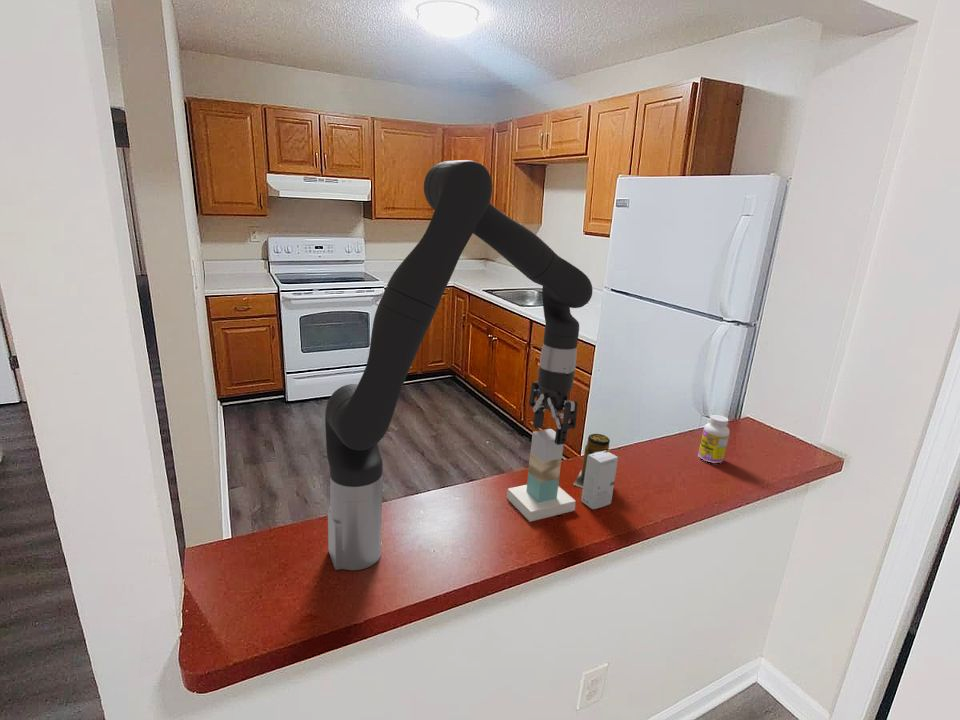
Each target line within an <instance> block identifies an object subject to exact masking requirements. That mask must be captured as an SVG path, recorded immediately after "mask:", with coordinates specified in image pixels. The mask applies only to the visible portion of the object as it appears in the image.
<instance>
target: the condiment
mask: <svg viewBox="0 0 960 720" xmlns="http://www.w3.org/2000/svg"><path fill="white" fill-rule="evenodd" d="M610 442H611V441H610V438H609V437H608V436H606V435H604V434H601V433H591V434H589V435H588V438H587V442H586V445H585V447H584V453H583V458H582V460H583V461H582V464H581V465H582V466H581V470H580V471H579V473H578V475H577V477H576V479H575V481H574V482H573V486H576V487H578V488H582V489H583V484H584V477H585V470H586V463H587V456H588V455H589V454H593V453H595V452H601V451H605V450H606V451H608V452H610V448H609V447H610ZM610 453H611V452H610Z"/></svg>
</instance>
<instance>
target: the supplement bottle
mask: <svg viewBox="0 0 960 720" xmlns="http://www.w3.org/2000/svg"><path fill="white" fill-rule="evenodd" d="M728 425H729V418H728V417H726V416H724V415H721V414H711V415H710V417H709V422H708V423H706V424H705V425H703V431H702V436H701V439H700V444H699V448H698V449H699V450H698V454H697V456H698V458H699V457H700V458H701V459H703V460H705V461H708V462H712V463H717V462H722V461H724V458H725V454H726V449H727V445H728V442H729V437H730V432H731V431H730V429H729V427H728ZM700 458H699V459H700ZM701 459H700V460H701ZM703 460H702V461H703ZM705 461H704V462H705ZM722 463H723V462H722Z"/></svg>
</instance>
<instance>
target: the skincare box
mask: <svg viewBox="0 0 960 720" xmlns="http://www.w3.org/2000/svg"><path fill="white" fill-rule="evenodd" d="M618 460H619V457H618V456H617V455H615V454H613V453H611V452H608V451H606V450H605V451H601V452H595V453H593V454H589V455H588V456H587V463H586V470H585V477H584V484H583V488H582V491H581V492H582V493H581V499H580V501H581V502H582V503H583V504H584V505H586V507H588V508H590V509H592V510H597V509H600V508H604V507H606V506H609V505H611V504H612V500H613V493H614V487H615V480H616V474H617V468H618Z"/></svg>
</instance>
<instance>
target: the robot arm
mask: <svg viewBox="0 0 960 720" xmlns="http://www.w3.org/2000/svg"><path fill="white" fill-rule="evenodd" d="M423 193H424V197H425V200H426V201H427V204H428V205H429V207H431V209H432V210H434V212H433V214H432V216H431V218H430V221H429V224H428V226H427V228H426V230H425V232H424V234H423V235H422V237H421V239H420V240H419V242H418V243H417V244H416V245H415V247H413V249H412V250H411V251H410V252H409V254H408V255H407V256H406V257H405V258H404V259H403V260H402V261H401V263H400V264H399V265H398V267H397V268H396V269H395V271H394V272H393V273H392V275H391V277H390V279H389V280H388V282H387V285H386V287H385V289H384V291H383V292H382V293H383V294H382V296H381V298H380V301H379V303H378V305H377V308H376V311H375V314H374V318H373V324H372V328H371V329H372V330H371V335H370V336H371V337H370V345H369V351H368V358H367V362H366V364H365V368H364V370H363V373H362V376H361V377H360V380H359V382H358V383H355V384H354V383H350V384H345V385H342V386H341V387H339V388H337V389H336V390H335V391H334V392H333V393H332V394H331V395H330V397H329V399H328V400H327V403H326V406H325V414H324V416H325V417H324V418H325V419H324V420H325V421H324V422H325V424H324V425H325V444H326V445H325V447H326V449H325V450H326V456H327V461H328V465H329V480H330V481H329V486H330V487H329V488H330V490H329V491H330V492H329V494H330V497H329V498H330V501H329V502H330V504H329V505H330V506H329V507H327V535H328V536H327V537H328V538H327V539H328V540H327V541H328V543H327V544H328V545H327V546H328V547H327V549H328V553H329V556H330V559H331V562H332V565H333V568H334V570H335V571H338V570H339V571H340V570H346V571H359V570H360V571H361V570H364V569H367V568H370V567H371V566H373V565H375V564H376V563H377V562H378V561H379V560H380V558H381V557H382V556H381V555H382V525H383V524H382V523H383V522H382V519H383V515H382V513H383V474H384V473H383V466H384V464H383V457H382V455H381V452H380V448H379V442H380V441H381V440H382V439H383V438H384V436H386V434H387V432H388V429H389V427H390V424H391V421H392V419H393V416H394V413H395V411H396V407H397V404H398V401H399V398H400V394H401V391H402V390H403V389H402V388H403V386H404V383H405V381H406V378H407V375H408V373H409V371H410V368H411V367H412V365H413V363H414V360H415V358H416V356H417V353H418V351H419V349H420V346H421V344H422V342H423V339H424V338H425V336H426V333H427V331H428V329H429V327H430V325H431V324H432V321H433V318H435V317H434V316H435V314H436V312H437V309H438V308H439V305H440V303H441V300H442V298H443V295H444V292H445V291H446V289H447V287H448V285H449V282H450V279H451V278H452V275H453V273H454V272H455V269H456V267H457V264H458V262H459V259H460V257H461V255H462V253H464V252H463V251H464V250H465V248H466V246H467V244H468V243H469V240H470V239H471V237H472V236H473V235H475V236H476V237H478V239H481V241H483V242H485V243H486V244H487V245H488V246H490V247H491V248H492V249H493V250H494V251H495V252H497V253H498V254H499V255H500V256H501V257H502V258H504V259H505V260H506V261H508V263H510V264H511V265H512V266H513V267H515V268H516V269H517V270H518V271H519V272H520V273H522V274H523V275H524V277H526V278H527V279H529V280H530V281H531V282H533V283H536V284H537V285H540V286H542V290H541V296H542V298H541V299H542V307H543V315H544V322H545V327H544V333H543V335H544V336H543V341H542V343H543V344H542V346H541V347H542V348H541V350H540V351H541V352H540V357H539V366H538V374H537V381H532V382H531V386H530V387H531V388H530V394H529V401H528V405H529V407H532V411H533V421H532V423H533V424H532V427H533V428H534V429H535V430H536V429H542V428H543V426H544V421H545V420H544V419H545V412H544V411H546V410H547V411H548V412H549V413H551V416H552V419H554V420H555V423H556V430H555V432H556V436H555V443H556V444H557V445H561V444H564V445H565V443H566V441H567V435H568V430H574V429H576V426H577V425H576V422H577V415H578V406H579V405H578V402H577V400H574V401H573V400H570V399H569V392H570V391H571V390H572V389H573V387H574V379H575V372H576V365H577V359H578V358H577V355H578V354H577V352H578V351H577V349H578V348H577V347H578V341H579V334H580V323H579V321H578V319H576V318H575V317H574V316H573V315H572V313H571V309H578V308H583V307H584V306H586V305H587V304H588V303H589V302H590V301H591V298H592V296H593V285H592V281H591V280H590V279H589V276H588V275H586V274H585V272H584V271H582V270H580V269H579V268H578V267H576V266H575V265H574V264H572V263H571V262H568V261H567V260H566V259H564V258H562V257H561V256H559V255H558V254H557V253H556V252H555V251H554V250H553V249H552V248H551V247H550V246H549V245H548V244H547V243H546V242H544V241H543V240H542V239H541V238H540V237H539V236H538V235H537V234H535V233H534V232H533V231H532V230H530V229H528V228H527V227H526V226H524V225H522V224H521V223H519V222H518V221H516V220H514V219H513V218H511V217H509V216H507V215H506V214H504V213H503V212H502V211H501V210H499V209H498V208H497V207H495V206H494V205H493V204H492V203H490V202H491V198H492V193H493V181H492V177H491V174H490V173H489V170H488V169H487V168H486V167H485V165H483V164H481V163H480V162H478V161H475V160H468V159H464V160H463V159H461V160H458V159H457V160H446V161H442V162H438V163H437V164H435V165H434V166H432V167H431V168H430V169H429V170H428V172H427V173H426V174H425V177H424V181H423ZM535 398H536V400H535ZM560 412H562V413H560ZM569 420H570V421H569Z"/></svg>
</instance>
